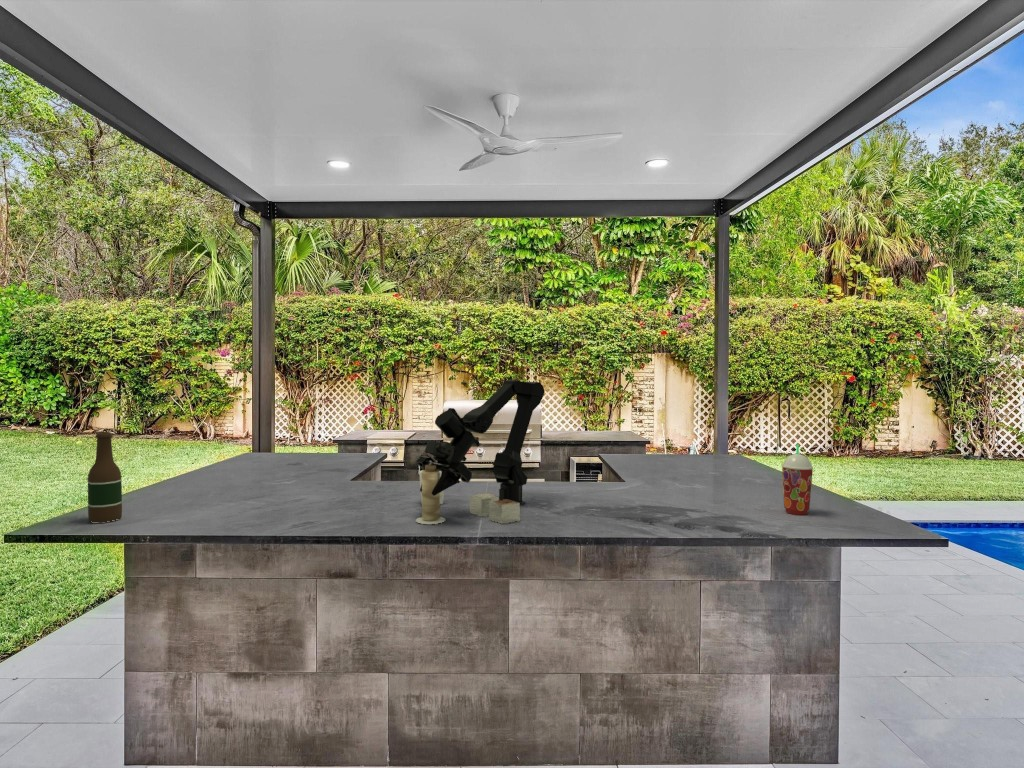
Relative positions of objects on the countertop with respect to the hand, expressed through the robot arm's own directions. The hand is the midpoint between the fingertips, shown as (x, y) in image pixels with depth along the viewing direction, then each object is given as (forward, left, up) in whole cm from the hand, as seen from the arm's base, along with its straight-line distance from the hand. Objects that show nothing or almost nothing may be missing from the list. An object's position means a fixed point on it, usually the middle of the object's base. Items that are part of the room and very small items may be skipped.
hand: (426, 493), depth 169 cm
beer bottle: (+71, -52, -8) cm, 88 cm away
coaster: (-1, 0, -8) cm, 8 cm away
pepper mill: (-1, 0, -7) cm, 7 cm away
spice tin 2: (-18, +11, -8) cm, 23 cm away
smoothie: (-93, +53, -8) cm, 107 cm away
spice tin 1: (-18, +1, -8) cm, 20 cm away
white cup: (-12, -19, -8) cm, 24 cm away
